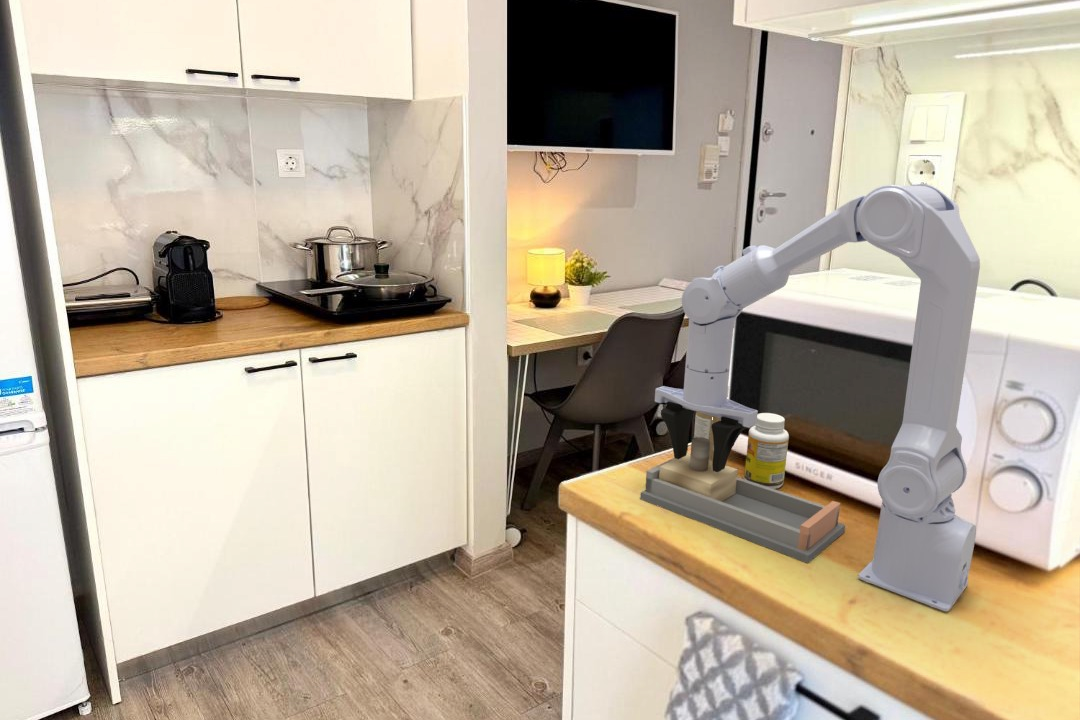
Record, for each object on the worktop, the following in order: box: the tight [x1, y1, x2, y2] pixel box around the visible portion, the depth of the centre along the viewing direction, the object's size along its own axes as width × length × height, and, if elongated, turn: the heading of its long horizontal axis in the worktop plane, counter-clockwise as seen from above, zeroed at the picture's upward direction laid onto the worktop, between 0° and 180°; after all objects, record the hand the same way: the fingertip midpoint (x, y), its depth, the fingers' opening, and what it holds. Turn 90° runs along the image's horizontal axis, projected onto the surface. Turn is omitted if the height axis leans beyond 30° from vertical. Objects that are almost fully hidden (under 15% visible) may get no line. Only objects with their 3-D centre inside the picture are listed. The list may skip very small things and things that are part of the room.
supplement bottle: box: [744, 412, 790, 490], centre depth 109 cm, size 6×6×10 cm
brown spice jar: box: [693, 385, 730, 461], centre depth 114 cm, size 5×5×13 cm
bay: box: [639, 457, 846, 564], centre depth 100 cm, size 24×11×4 cm, turn 47°
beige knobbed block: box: [659, 437, 739, 502], centre depth 103 cm, size 8×7×8 cm
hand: (699, 463), depth 103 cm, fingers open, 5 cm apart
